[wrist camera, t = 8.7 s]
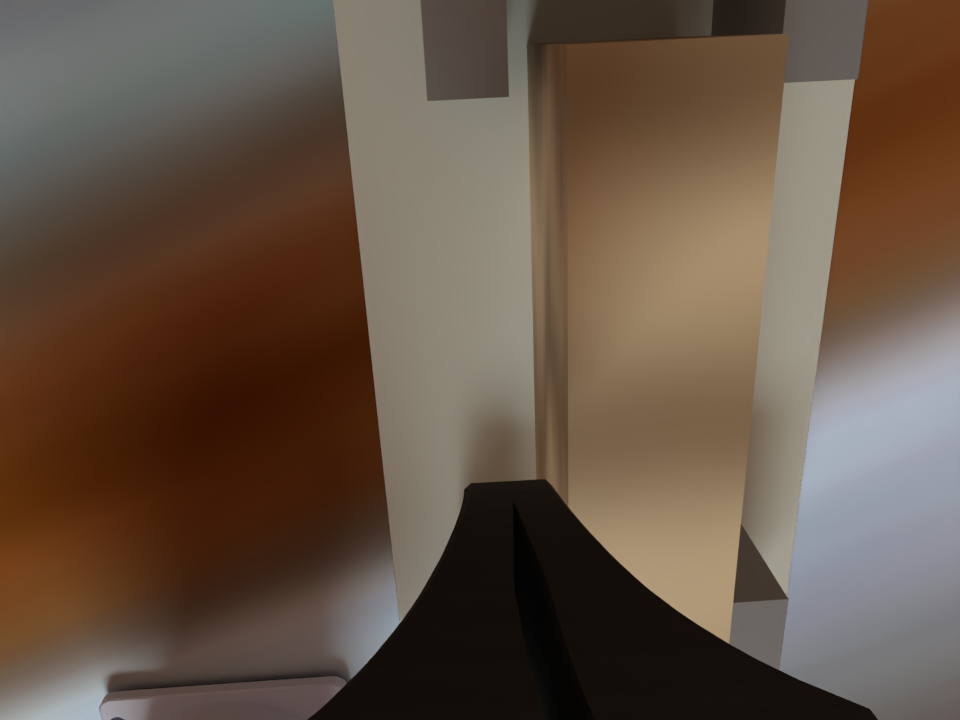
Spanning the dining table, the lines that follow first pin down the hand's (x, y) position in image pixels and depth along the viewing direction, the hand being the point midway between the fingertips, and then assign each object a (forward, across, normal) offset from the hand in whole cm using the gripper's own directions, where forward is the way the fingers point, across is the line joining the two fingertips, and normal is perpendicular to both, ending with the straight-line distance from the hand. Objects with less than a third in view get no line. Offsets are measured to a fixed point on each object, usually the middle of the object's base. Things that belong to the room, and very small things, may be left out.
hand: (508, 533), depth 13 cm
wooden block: (+8, -3, 0) cm, 9 cm away
